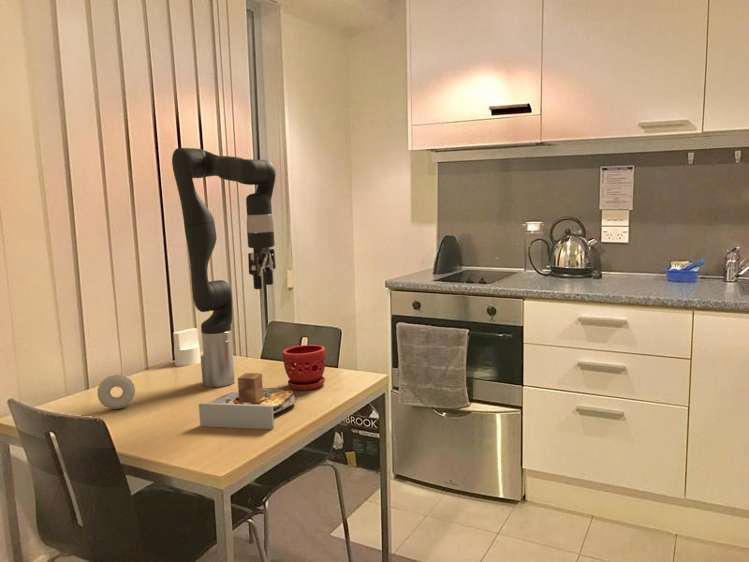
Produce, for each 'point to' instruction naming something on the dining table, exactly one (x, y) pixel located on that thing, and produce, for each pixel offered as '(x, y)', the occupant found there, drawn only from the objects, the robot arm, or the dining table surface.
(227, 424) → the grey divider panel
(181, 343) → the base with upright slab
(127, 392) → the donut
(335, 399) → the dining table surface
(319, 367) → the plant pot
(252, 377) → the walnut block
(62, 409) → the dining table surface
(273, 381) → the dining table surface
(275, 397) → the food plate
